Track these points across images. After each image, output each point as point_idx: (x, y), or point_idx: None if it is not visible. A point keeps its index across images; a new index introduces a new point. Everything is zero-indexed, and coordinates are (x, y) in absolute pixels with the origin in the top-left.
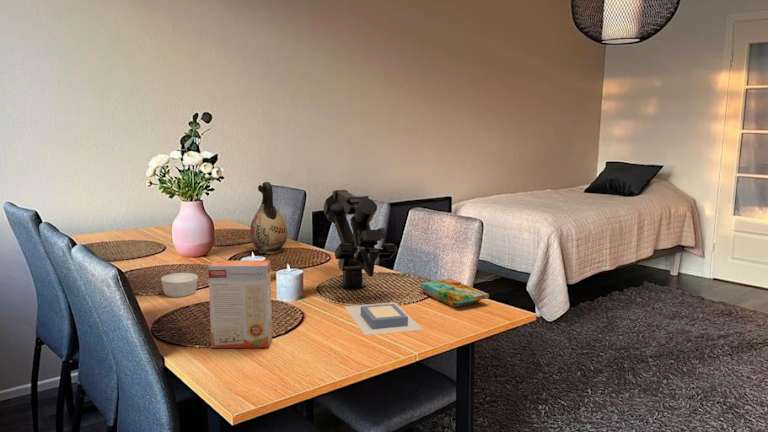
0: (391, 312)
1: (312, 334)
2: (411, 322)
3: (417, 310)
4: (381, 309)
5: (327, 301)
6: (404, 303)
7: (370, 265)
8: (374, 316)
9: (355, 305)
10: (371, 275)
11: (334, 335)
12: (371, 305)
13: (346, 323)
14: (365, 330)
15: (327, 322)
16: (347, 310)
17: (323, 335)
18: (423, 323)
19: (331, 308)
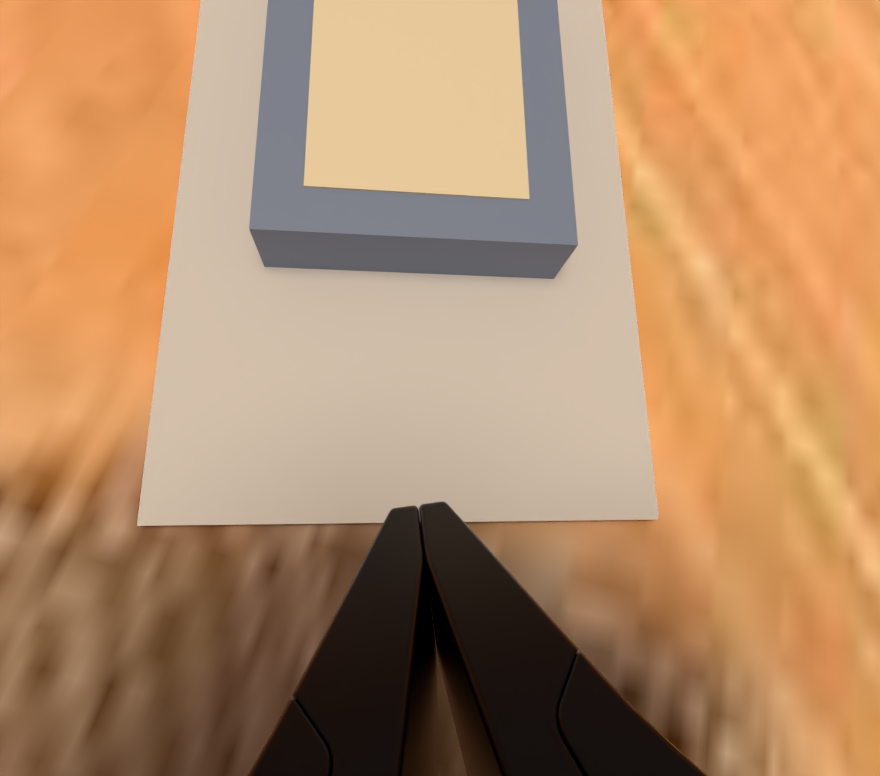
0: (363, 35)
1: (877, 81)
2: (231, 25)
3: (27, 276)
4: (421, 119)
5: (783, 760)
6: (41, 502)
7: (416, 737)
8: (518, 12)
9: (551, 519)
10: (423, 505)
11: (758, 30)
12: (405, 479)
13: (671, 178)
14: (581, 5)
15: (793, 232)
16: (640, 402)
17: (818, 49)
18: (143, 17)
19: (755, 529)
